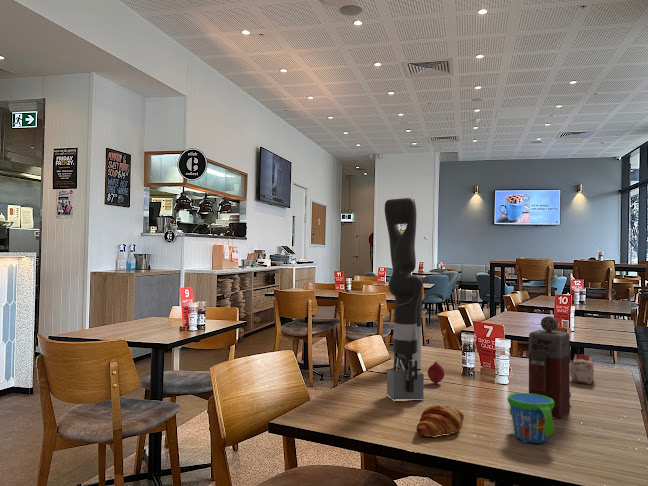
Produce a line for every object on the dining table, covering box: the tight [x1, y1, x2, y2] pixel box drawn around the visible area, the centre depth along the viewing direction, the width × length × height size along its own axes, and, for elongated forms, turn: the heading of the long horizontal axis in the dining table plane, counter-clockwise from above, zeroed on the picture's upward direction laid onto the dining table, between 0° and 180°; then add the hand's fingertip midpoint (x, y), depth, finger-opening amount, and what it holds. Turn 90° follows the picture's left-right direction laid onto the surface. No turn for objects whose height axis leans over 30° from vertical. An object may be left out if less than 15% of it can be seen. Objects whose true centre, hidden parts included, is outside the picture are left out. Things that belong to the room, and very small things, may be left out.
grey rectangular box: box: [386, 369, 425, 400], centre depth 159 cm, size 6×10×8 cm, turn 102°
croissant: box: [416, 404, 465, 437], centre depth 131 cm, size 21×10×8 cm, turn 137°
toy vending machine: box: [528, 315, 571, 420], centre depth 146 cm, size 9×11×28 cm
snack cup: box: [507, 392, 555, 444], centre depth 125 cm, size 16×10×10 cm
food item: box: [570, 353, 595, 385], centre depth 187 cm, size 14×8×10 cm, turn 153°
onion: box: [427, 360, 445, 384], centre depth 179 cm, size 6×6×8 cm
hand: (404, 388), depth 159 cm, fingers open, 8 cm apart
